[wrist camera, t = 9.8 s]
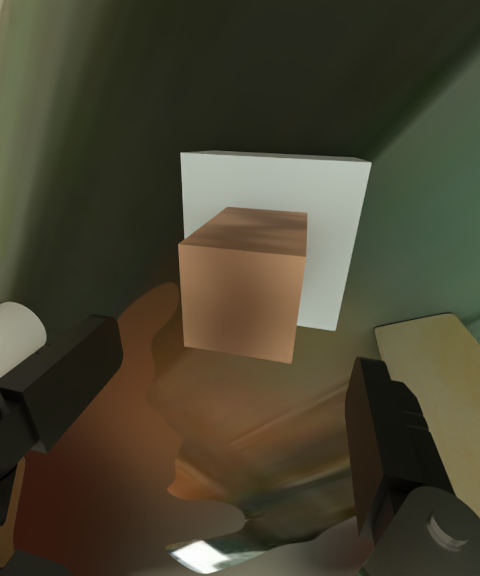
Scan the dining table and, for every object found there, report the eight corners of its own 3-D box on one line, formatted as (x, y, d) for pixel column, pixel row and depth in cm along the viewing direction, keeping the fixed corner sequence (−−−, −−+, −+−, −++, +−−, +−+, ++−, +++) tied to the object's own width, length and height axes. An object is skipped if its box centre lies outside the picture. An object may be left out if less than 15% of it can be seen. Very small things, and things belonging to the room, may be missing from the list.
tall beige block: (473, 379, 28) (784, 829, 10) (389, 390, 31) (511, 766, 12) (463, 308, 26) (868, 741, 7) (372, 326, 28) (496, 683, 9)
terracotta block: (307, 212, 18) (306, 257, 11) (297, 287, 20) (291, 363, 13) (227, 206, 19) (178, 244, 12) (226, 278, 21) (184, 346, 14)
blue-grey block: (354, 157, 22) (371, 162, 16) (329, 288, 27) (335, 331, 21) (213, 150, 24) (180, 152, 18) (213, 274, 29) (187, 309, 23)
